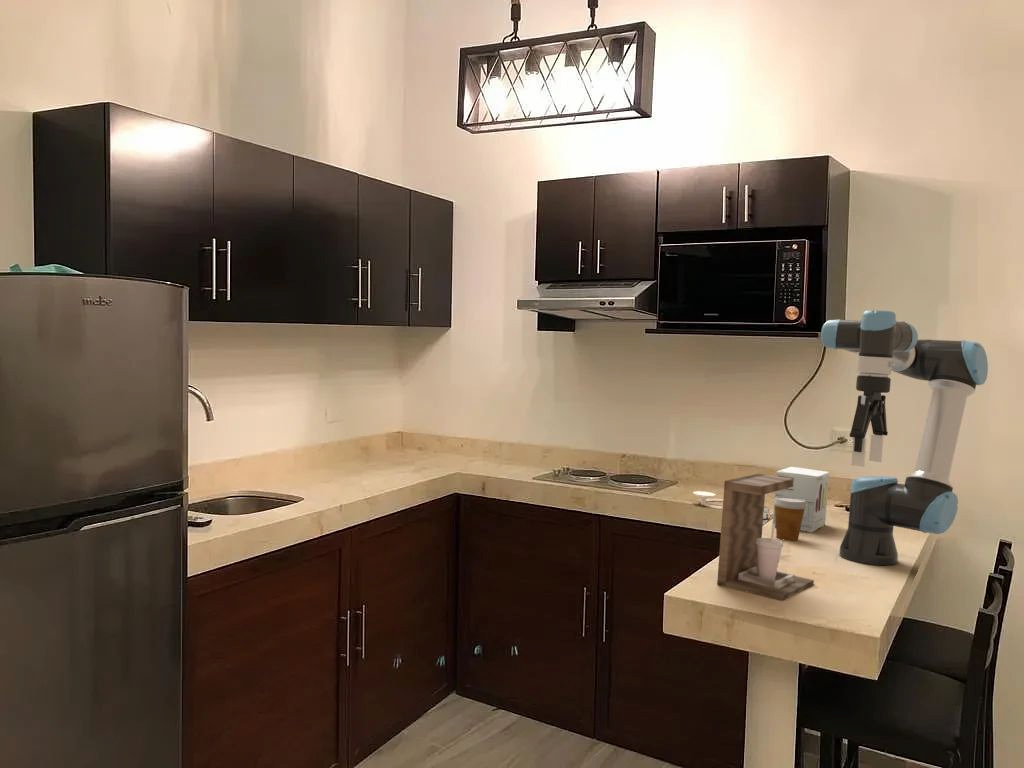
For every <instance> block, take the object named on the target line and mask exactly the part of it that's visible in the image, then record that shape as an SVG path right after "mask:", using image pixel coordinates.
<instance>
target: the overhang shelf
mask: <svg viewBox="0 0 1024 768" xmlns="http://www.w3.org/2000/svg"><path fill="white" fill-rule="evenodd" d="M723 484H724V485H723V498H722V499H723V502H722V507H723V510H722V512H721V513H722V514H721V527H720V539H719V541H720V543H719V554H718V569H717V581H716V584H718V586H721V585H722V587H725V586H726V588H729V587H730V588H731V589H733V588H734V590H737V589H738V590H737V591H741V590H743V591H742V592H745V591H747V593H750V592H751V593H750V594H754V593H755V594H754V595H758V596H762V595H763V596H762V597H766V596H767V597H768V598H770V597H771V599H774V598H776V599H775V600H778V599H780V600H779V601H785V600H786V599H788V598H789V596H790V597H792V596H793V594H794V595H795V593H796V594H797V593H799V592H801V591H803V590H805V589H807V588H809V587H811V586H813V585H814V583H815V580H814V579H811V578H806V577H802V576H797V575H795V574H791V573H788V572H783V571H778V570H777V572H776V577H775V580H770V579H766V578H762V577H759V574H758V551H757V544H756V539H758V538H763V526H764V525H763V513H764V507H765V500H766V499H765V497H766V495H767V494H771V493H775V491H779V490H782V489H786V488H790V487H793V479H791V478H785V477H778V476H776V475H770V474H765V473H764V474H763V473H754V474H751V475H746V476H745V475H744V476H742V477H736V478H732V479H726V480H724V483H723ZM791 595H792V596H791ZM787 597H788V598H787ZM785 598H786V599H785Z"/></svg>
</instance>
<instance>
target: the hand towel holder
mask: <svg viewBox="0 0 1024 768" xmlns="http://www.w3.org/2000/svg"><path fill="white" fill-rule="evenodd" d="M692 494H693V495H694V496H697V497H699V498H700V497H701V502H700V505H701V506H703V507H704V506H705V507H707V508H711V509H716V510H722V511H723V506H719V505H713V504H710V503H709V502H710V501H712V502H715V501H723V498H715V497H716V493H713V492H708V491H700V490H698V491H693V493H692Z"/></svg>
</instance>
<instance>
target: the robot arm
mask: <svg viewBox="0 0 1024 768" xmlns="http://www.w3.org/2000/svg"><path fill="white" fill-rule="evenodd" d="M861 316H862V317H861V320H857V319H856V320H855V319H854V320H850V319H848V320H847V319H829V320H827V321H826V322H825V323H823V325H822V327H821V332H820V334H821V335H820V339H821V340H820V341H821V343H822V345H823V346H824V347H825V348H827V349H831V350H832V349H834V350H845V351H847V352H850V353H853V354H855V355H858V357H857V358H858V359H857V369H856V372H857V373H858V374H859V375H857V376H856V385H855V388H856V389H855V390H857V391H858V392H863V394H862V395H861V394H860V395H858V396H857V403H856V408H855V412H854V416H853V417H854V418H853V421H852V426H851V429H850V432H849V437H850V438H853V442H852V451H851V452H852V454H851V463H850V464H851V466H855V467H865V464H866V463H865V460H866V448H867V438H866V435H867V432H868V429H869V426H870V423H871V430H872V431H871V432H872V434H871V435H870V447H869V457H868V461H870V462H874V463H875V462H877V463H882V462H883V461H882V459H883V458H882V457H883V450H884V449H883V447H884V437H885V436H888V434H889V432H888V428H887V426H888V425H887V424H888V423H887V413H886V412H887V410H886V395H884V394H887V393H890V391H891V381H892V379H891V378H890V377H889V376H890V375H892V372H893V373H897V374H900V375H901V376H902V375H903V376H904V377H905V376H906V377H907V378H908V377H909V378H912V379H916V380H920V381H927V382H928V383H927V384H928V387H930V389H931V390H932V393H931V397H930V401H929V406H928V410H927V415H926V418H925V423H924V427H923V432H922V435H921V440H920V443H919V447H918V448H919V449H918V452H917V457H916V462H915V465H914V469H913V472H912V473H911V474H909V475H907V476H906V478H905V480H904V484H903V483H898V482H899V481H898V478H897V477H896V476H894V477H893V476H883V475H882V476H881V475H880V476H874V475H873V476H871V475H870V476H859V477H858V476H857V477H856V478H854V479H853V480H852V481H851V488H850V493H849V495H850V500H849V511H848V525H847V529H846V532H845V534H844V537H843V539H842V541H841V543H840V546H839V551H838V552H839V553H838V554H839V556H840V557H842V558H844V559H845V560H848V561H849V560H850V561H853V562H857V563H861V564H866V565H867V564H868V565H875V566H876V565H878V566H893V565H896V564H898V560H899V553H898V549H897V545H896V542H895V539H894V538H895V537H894V527H897V528H901V529H902V528H903V529H907V530H912V531H917V532H921V533H923V534H935V535H941V534H945V532H947V531H948V530H949V529H950V528H951V526H952V525H953V524H954V521H955V518H956V516H957V513H958V509H959V506H958V504H959V499H958V496H957V494H956V493H955V492H953V490H954V487H953V485H952V484H951V482H950V481H949V478H950V475H951V474H950V473H951V471H952V470H951V469H952V465H953V461H954V457H955V453H956V452H955V451H956V447H957V443H958V438H959V435H960V430H961V425H962V421H963V417H964V411H965V407H966V403H967V398H968V397H969V396H971V395H973V394H974V393H975V392H976V387H977V386H981V385H984V384H985V383H986V381H987V379H988V374H989V372H988V371H989V366H988V365H989V363H988V356H987V353H986V350H985V348H984V346H983V345H982V344H981V343H979V342H976V341H967V340H965V339H964V340H948V339H947V340H945V339H919V335H918V331H917V329H916V327H915V326H913V324H911V323H907V322H905V321H897V317H896V316H897V315H896V313H895V312H894V311H891V310H875V309H874V310H872V309H871V310H865V311H864V312H863V313H862V315H861Z"/></svg>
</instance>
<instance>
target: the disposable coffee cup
mask: <svg viewBox="0 0 1024 768" xmlns="http://www.w3.org/2000/svg"><path fill="white" fill-rule="evenodd" d="M774 500H775V501H773V505H775V517H776V526H775V530H776V531H775V534H776V535H775V536H776V538H777V539H779V538H780V539H779V540H782V539H784V540H783V541H787V540H790V541H791V542H795V540H796V541H798V540H799V537H800V532H801V531H800V528H801V523H802V518H803V514H804V509H805V507H806V503H805V500H803V499H799V498H793V497H776V498H775V497H774Z"/></svg>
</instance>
